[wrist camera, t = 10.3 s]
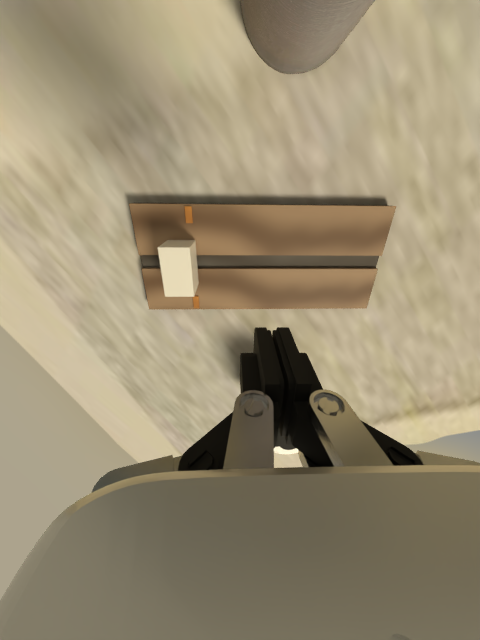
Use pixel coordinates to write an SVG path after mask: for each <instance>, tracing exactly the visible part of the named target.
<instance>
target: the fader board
mask: <svg viewBox="0 0 480 640" xmlns="http://www.w3.org/2000/svg"><path fill="white" fill-rule="evenodd" d="M129 206H130V211H131V216H132V222H133V227H134V232H135V237H136V243H137V248H138V253H139V255H141V260H142V265H143V268H142V274H143V279H144V285H145V290H146V295H147V300H148V305H149V309H310V308H367V304H368V301H369V298H370V294H371V291H372V287H373V284H374V281H375V277H376V274H377V270H378V269H377V268H376V265H377V261H378V258H379V256H382V253H383V250H384V246H385V243H386V240H387V236H388V233H389V229H390V226H391V222H392V219H393V216H394V212H395V209H396V206H377V205H277V204H177V203H130V204H129ZM167 240H195V242H196V255H197V268H198V281H199V284H198V287H197V290H196V293H195V295H194V297H165V293H164V287H163V280H162V273H161V267H160V260H159V254H158V247H159V246H160V245H162V244H163V243H164V242H166V241H167Z"/></svg>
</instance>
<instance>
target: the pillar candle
mask: <svg viewBox="0 0 480 640" xmlns="http://www.w3.org/2000/svg"><path fill="white" fill-rule="evenodd" d="M374 1H375V0H241V9H242V16H243V20H244V24H245V28H246V31H247V34H248V36H249V39H250V41H251V43H252V45H253V47H254V49H255V50H256V52H257V53H258V55H259V56H260V57H261V58H262V59H263V61H264V62H265V63H266V64H268V65H269V66H270V67H272V68H273V69H275V70H277V71H278V72H281V73H285V74H295V73H304V72H308V71H310V70H313V69H315V68H317V67H319V66H320V65H322V64H323V63H324V62H325V61H327V60H328V59H329V58H330V57H331V56H332V55H333V54H334V53H335V52H336V51H337V50H338V48H339V46H340V45H341V44H342V42H343V41H344V40H345V39H346V37H347V36H348V35H349V33H350V32H351V31H352V30H353V29H354V27H355V26H356V25H357V23H358V22H359V20H360V19H361V18H362V17H363V15H364V14H365V13H366V11H367V10H368V8H369V7H370V6H371V5H372V4H373V2H374Z"/></svg>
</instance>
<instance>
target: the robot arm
mask: <svg viewBox="0 0 480 640" xmlns="http://www.w3.org/2000/svg"><path fill="white" fill-rule="evenodd" d="M240 385H241V394H240V395H239V396H238V397H237V399H236V401H235V405H234V411H233V412H232V413H231V414H230V415H229V416H227V417H226V418H225V419H224V420H223V421H221V422H220V423H219V424H218V425H217V426H215V427H214V428H213V429H212V430H211V431H209V432H208V433H207V434H206V435H205V436H203V437H202V438H201V439H200V440H199V441H197V442H196V443H195V444H194V445H193V446H191V447H190V448H189V449H188V450H187V451H186V452H185V453H184V454H183V456H179V457H175V458H173V455H171V456H167V457H162V458H158V459H154V460H150V461H146V462H142V463H138V464H134V465H131V466H126V467H122V468H118V469H115V470H113V471H110V472H108V473H107V474H105V475H104V476H103V477H101V478H100V480H99V481H98V482H97V483H96V485H95V486H94V488H93V491H92V493H90V494H89V495H87V496H85V497H83V498H82V499H80V500H78V501H77V502H75V503H74V504H72V505H71V506H69V507H68V508H67V509H66V510H65V511H63V512H62V513H61V514H60V515H59V516H58V517H57V518H56V519H55V520H54V521H53V522H52V524H51V525H50V526H49V527H48V529H47V530H46V531H45V532H44V534H43V535H42V536H41V538H40V539H39V540H38V542H37V543H36V545H35V546H34V548H33V549H32V550H31V552H30V553H29V555H28V556H27V558H26V559H25V561H24V563H23V564H22V566H21V567H20V569H19V570H18V572H17V574H16V575H15V577H14V579H13V580H12V582H11V584H10V585H9V587H8V588H7V590H6V592H5V594H4V595H3V597H2V599H1V600H0V640H480V463H477V462H474V461H469V460H464V459H459V458H453V457H448V456H443V455H437V454H432V453H428V452H422V451H417V452H416V453H414V452H413V451H412V450H410V449H409V448H407V447H406V446H404V445H403V444H401V443H399V442H397V441H396V440H394V439H392V438H390V437H389V436H387V435H385V434H383V433H382V432H380V431H378V430H376V429H375V428H373V427H371V426H369V425H368V424H366V423H364V422H362V421H361V420H360V419H359V418H358V416H357V415H356V413H355V412H354V411H353V409H352V408H351V407H350V405H349V404H348V403H347V401H346V400H345V399H344V398H343V397H342V396H340V395H339V394H337V393H335V392H333V391H330V390H323V388H322V386H321V384H320V382H319V380H318V378H317V375H316V373H315V371H314V369H313V367H312V364H311V362H310V360H309V358H308V356H307V354H306V353H299V351H298V349H297V346H296V344H295V342H294V339H293V337H292V334H291V332H290V329H289V328H277V330H273V334H272V335H271V331H270V330H267V329H266V328H255V333H254V353H241V355H240ZM278 431H280V435H281V437H284V436H285V440H286V444H287V445H293V446H294V447H295V448H297V449H298V454H299V458H300V461H301V463H302V466H303V467H298V468H274V448H275V446H276V445H277V438H278Z"/></svg>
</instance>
